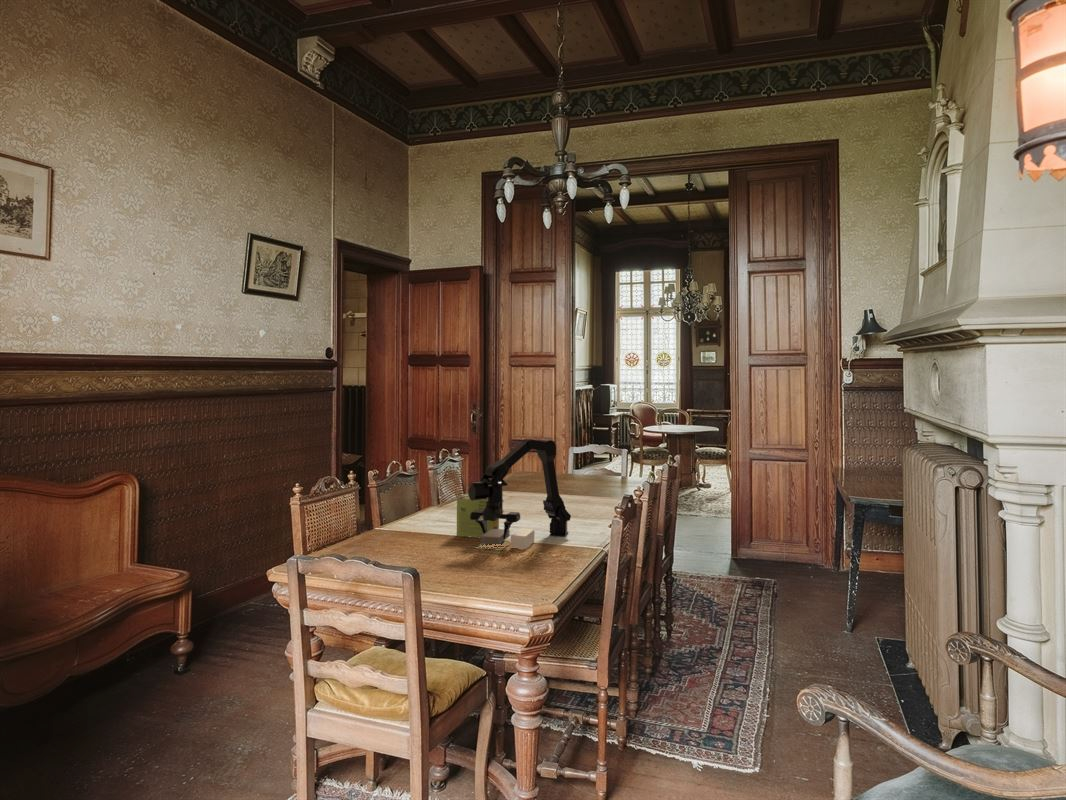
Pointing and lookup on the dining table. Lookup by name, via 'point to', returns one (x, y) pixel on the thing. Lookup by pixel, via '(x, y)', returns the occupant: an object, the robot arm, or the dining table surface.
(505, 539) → the mat
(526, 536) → the box
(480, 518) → the robot arm
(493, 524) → the protein box
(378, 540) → the dining table surface
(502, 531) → the lid
